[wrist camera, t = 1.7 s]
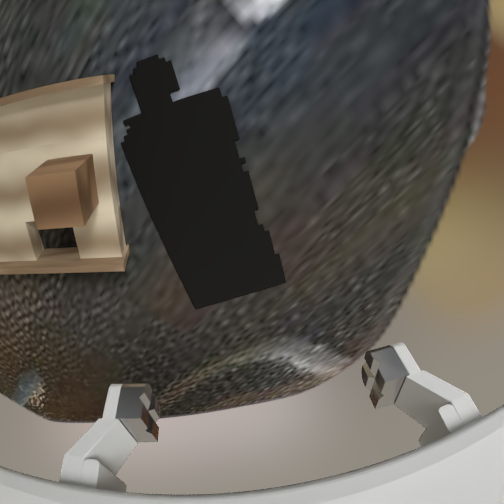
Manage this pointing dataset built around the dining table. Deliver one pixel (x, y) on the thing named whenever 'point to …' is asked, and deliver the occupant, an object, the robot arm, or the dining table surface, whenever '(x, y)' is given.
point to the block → (63, 192)
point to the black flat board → (198, 188)
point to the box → (50, 147)
